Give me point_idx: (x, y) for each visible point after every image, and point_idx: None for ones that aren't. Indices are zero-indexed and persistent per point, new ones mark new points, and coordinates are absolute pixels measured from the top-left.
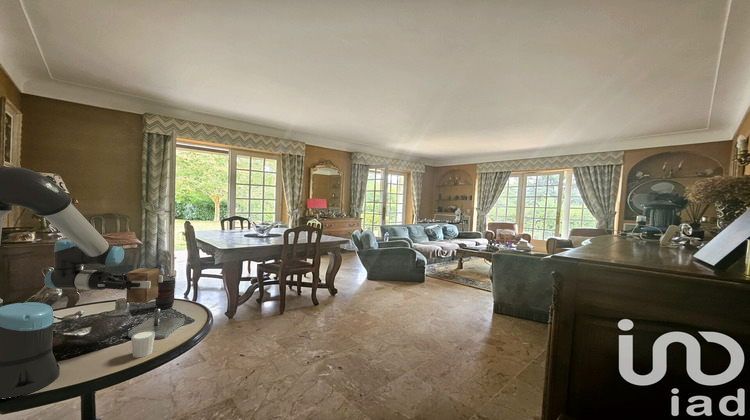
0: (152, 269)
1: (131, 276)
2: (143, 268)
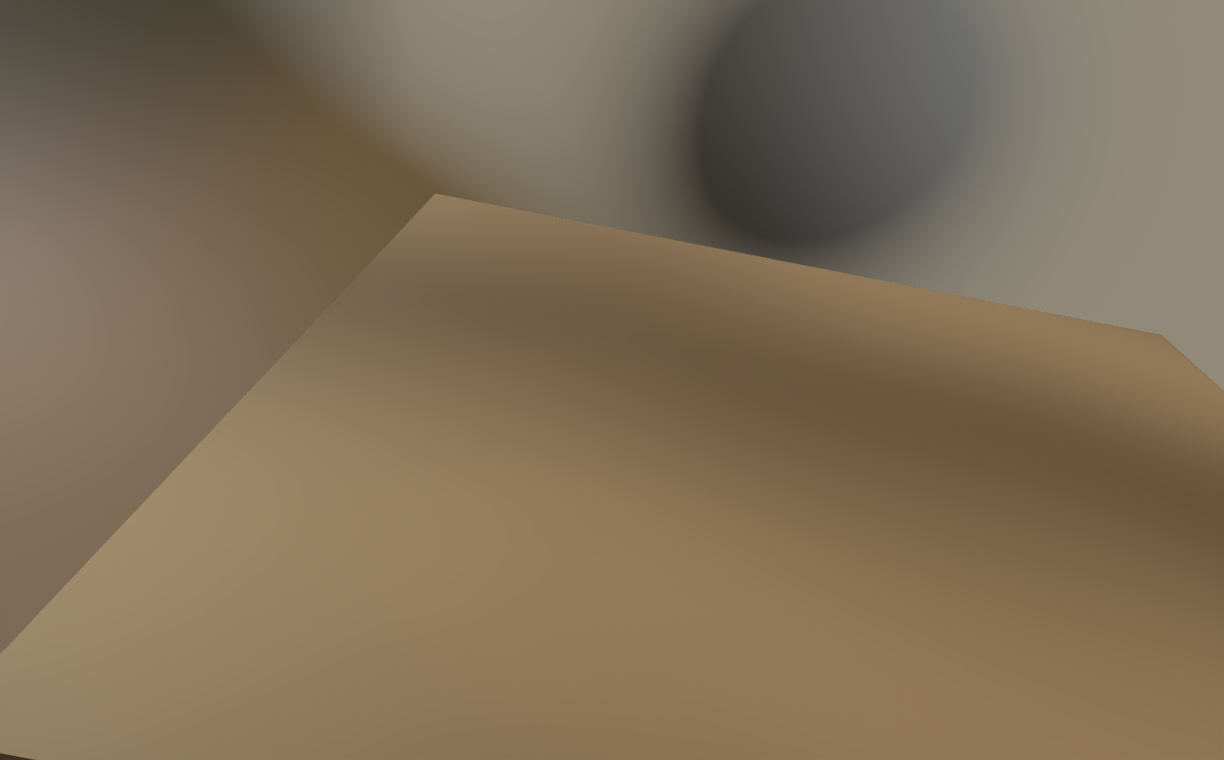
0: (582, 274)
1: None
2: (271, 502)
